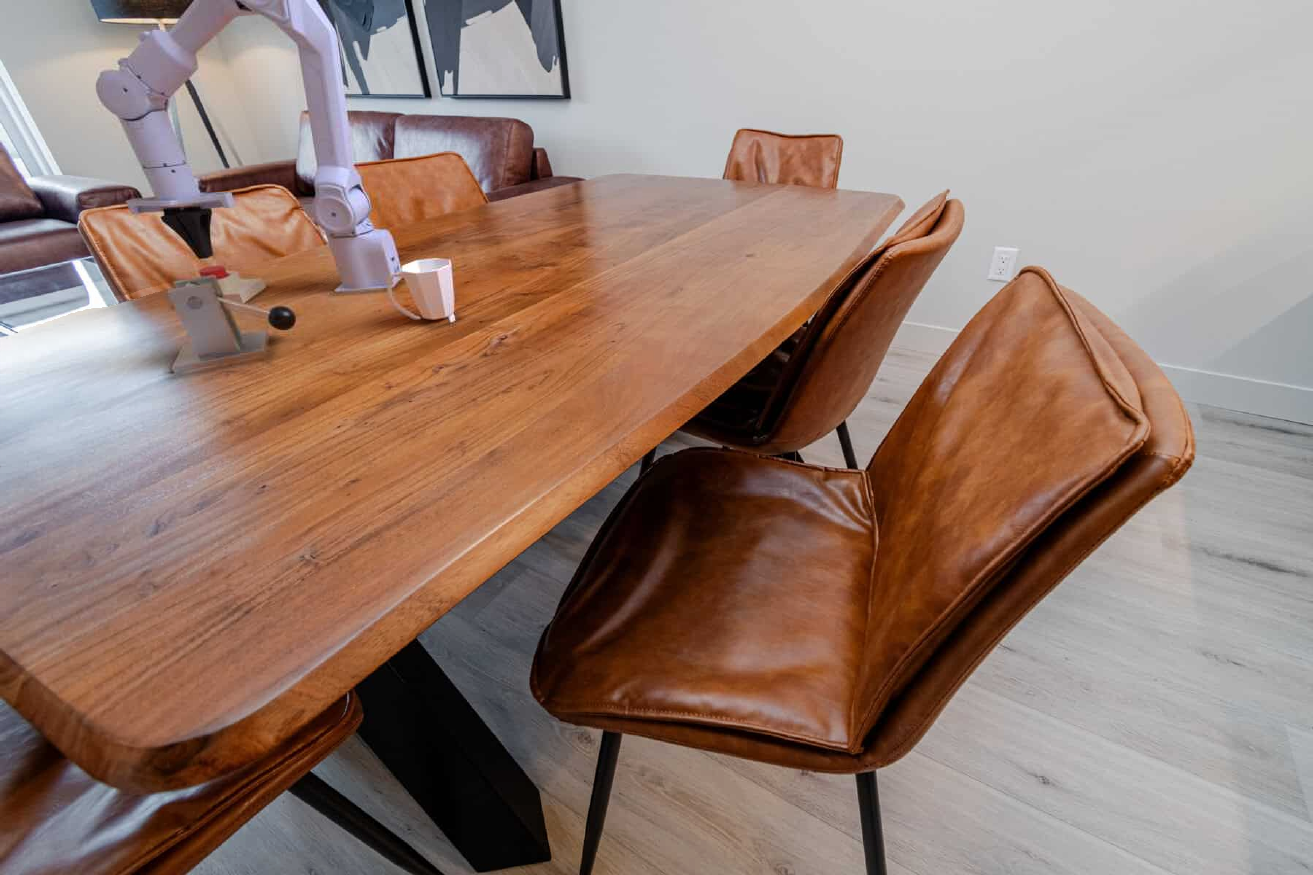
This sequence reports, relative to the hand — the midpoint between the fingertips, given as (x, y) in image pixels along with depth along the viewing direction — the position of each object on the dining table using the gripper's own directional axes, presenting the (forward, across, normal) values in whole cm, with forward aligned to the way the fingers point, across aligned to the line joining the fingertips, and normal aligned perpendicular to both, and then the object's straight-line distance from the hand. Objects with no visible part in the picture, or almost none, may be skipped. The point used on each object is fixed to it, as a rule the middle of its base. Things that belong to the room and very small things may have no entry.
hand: (206, 257), depth 96 cm
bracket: (+7, +13, -26) cm, 30 cm away
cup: (+7, +38, -19) cm, 43 cm away
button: (+4, 0, 0) cm, 4 cm away
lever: (+2, +16, -25) cm, 30 cm away
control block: (+7, 0, 0) cm, 7 cm away
